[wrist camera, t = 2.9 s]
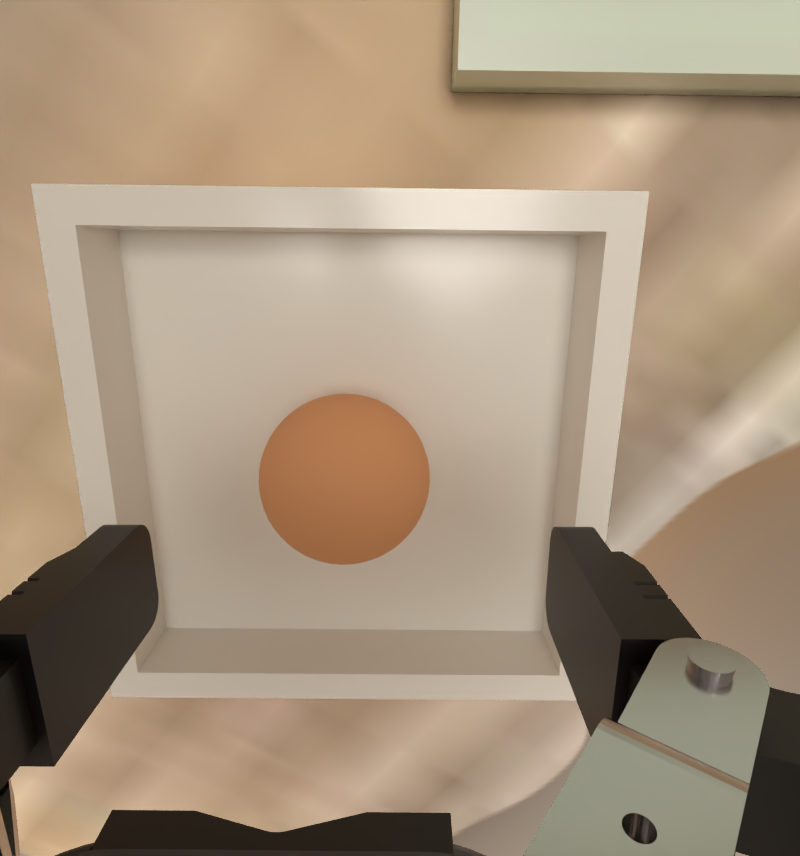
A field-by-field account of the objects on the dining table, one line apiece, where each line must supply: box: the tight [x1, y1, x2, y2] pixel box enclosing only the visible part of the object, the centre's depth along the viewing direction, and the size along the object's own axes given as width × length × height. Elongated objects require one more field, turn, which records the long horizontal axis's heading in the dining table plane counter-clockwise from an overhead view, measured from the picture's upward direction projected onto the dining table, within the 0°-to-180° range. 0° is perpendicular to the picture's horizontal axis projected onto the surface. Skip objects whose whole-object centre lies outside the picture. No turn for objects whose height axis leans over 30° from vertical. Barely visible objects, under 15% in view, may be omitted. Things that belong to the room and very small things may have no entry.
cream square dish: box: [31, 183, 649, 701], centre depth 18 cm, size 16×16×3 cm
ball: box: [259, 394, 430, 565], centre depth 17 cm, size 5×5×5 cm
